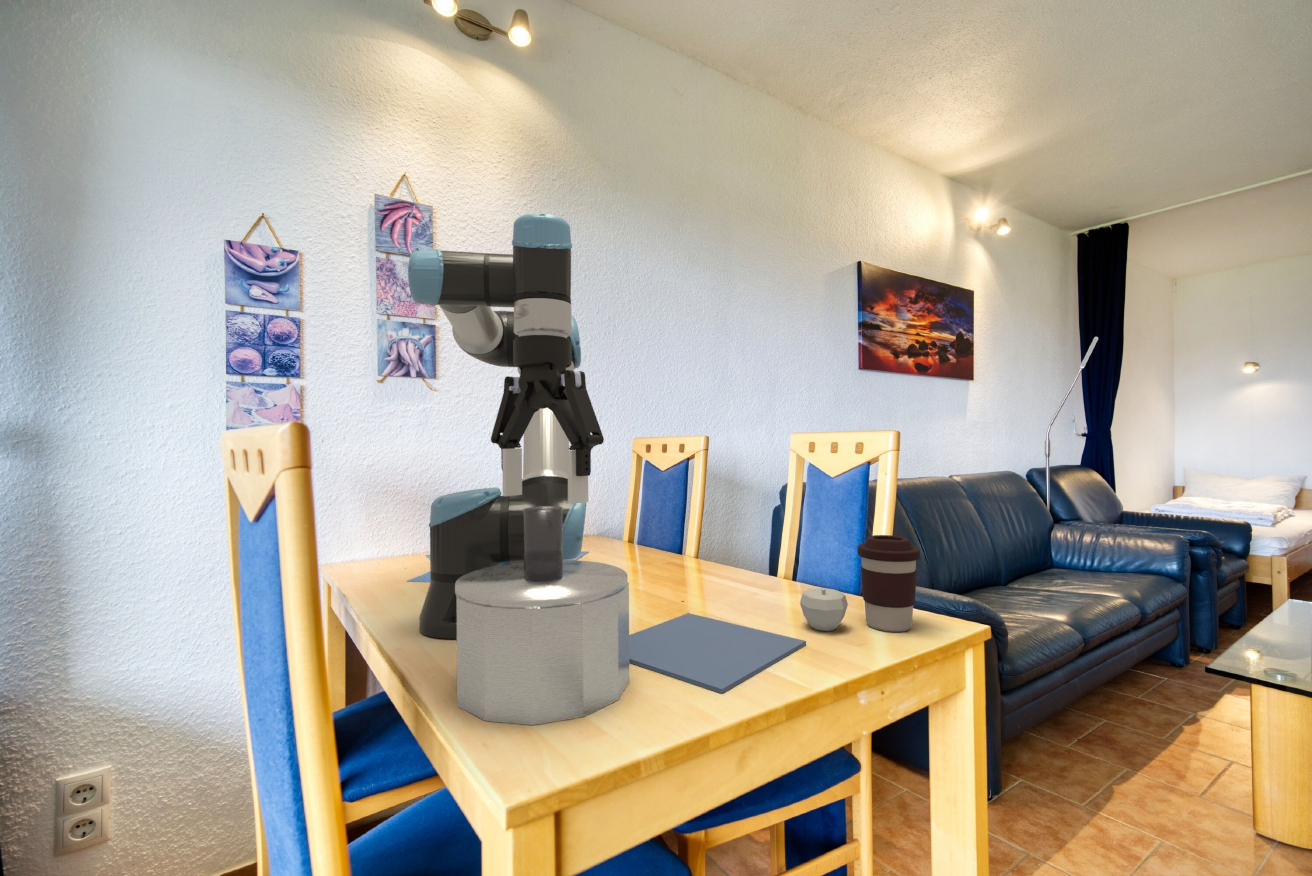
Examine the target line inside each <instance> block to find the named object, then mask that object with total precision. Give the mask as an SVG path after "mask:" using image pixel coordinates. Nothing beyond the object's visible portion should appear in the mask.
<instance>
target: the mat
mask: <svg viewBox="0 0 1312 876" xmlns="http://www.w3.org/2000/svg"><path fill="white" fill-rule="evenodd" d="M806 645H807V640H803V639H799V638H795V637H791V636H787V635H782V634H778V633H774V632H769V631H766V630H761V629H757V628H753V627H749V626H745V625H739V624H738V623H737V624H736V623H732V622H727V621H724V620H719V619H714V618H711V617H706V616H703V615H699V614H694V613H690V612H686V613H685V614H682V615H680V616H677V617H673V618H671V619H668V620H666V621H663V622H661V623H658V624H655V625H651V626H650V627H647V628H645V629H642V630H639V631H635V632H634V633H631V634H629V664H632V665H635V666H638V667H640V668H644V669H646V670H650V671H652V672H656V673H658V674H661V675H665V676H668V677H671V678H673V679H676V680H680V681H683V682H685V683H689V684H691V685H694V686H697V687H699V688H700V687H701V688H704V689H707V690H709V691H711V692H716V693H719V694H725V693H726V692H728V691H729V690H732V689H733V688H735V687H736V686H738V685H740V684H742V683H743V682H745V681H747V680H748V679H750V678H752V677H754V676H756V675H757V674H759V673H760V672H762V671H764V670H765V669H767V668H769V667H770V666H772V665H774V664H776V663H778V662H779V661H781V660H783V659H784V658H787V656H788V657H789V655H791V654H793V653H795V652H796V651H798V650H800V649H802V648H803V647H806Z"/></svg>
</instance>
